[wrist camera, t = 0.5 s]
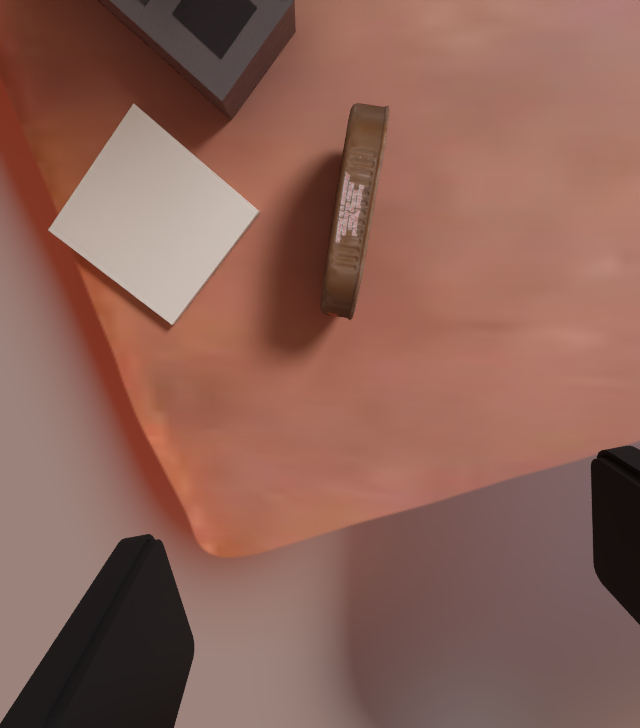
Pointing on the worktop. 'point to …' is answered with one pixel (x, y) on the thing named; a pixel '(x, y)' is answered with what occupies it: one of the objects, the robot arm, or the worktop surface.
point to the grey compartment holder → (213, 40)
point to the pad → (153, 216)
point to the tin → (354, 208)
